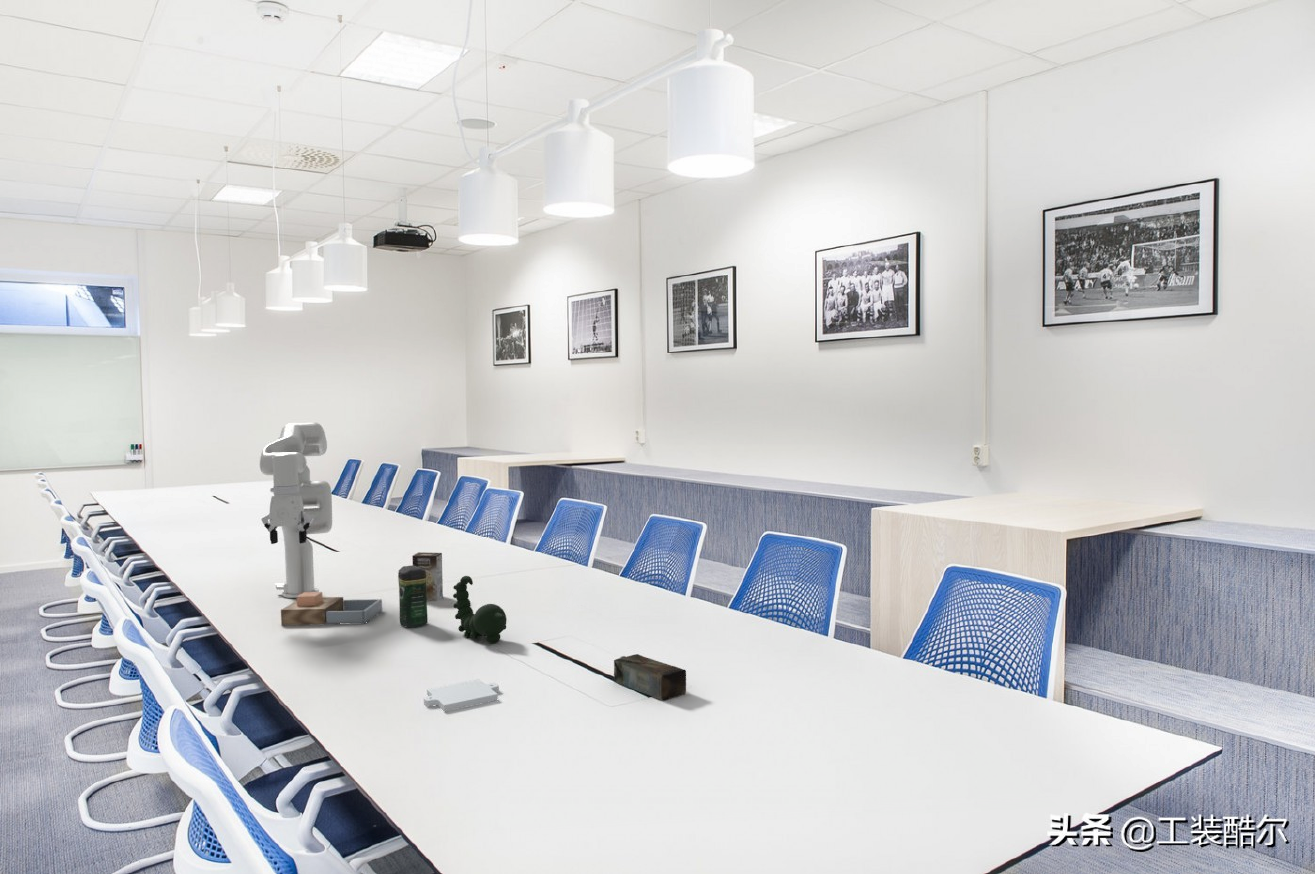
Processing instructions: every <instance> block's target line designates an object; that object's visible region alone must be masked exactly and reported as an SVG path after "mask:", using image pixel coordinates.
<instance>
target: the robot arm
mask: <svg viewBox="0 0 1315 874" xmlns="http://www.w3.org/2000/svg"><path fill="white" fill-rule="evenodd" d="M327 449H328V441H327V437H326V432H325V429H324V428H323V426H322V425H321V424H320V423H318V422H291V423H290V422H289V423H287V424H286V425H284V426H283V427H281V431H280V435H279V437H278V438H277V440H276V441H273V442H271V443H269V444H267V445H266V446H265V447H263V449H262V450H261V451H262V452H261V455H260V457H259V469H260V471H261V473H262V474H263V475H266V476H273V478H272V479H273V487H272V488H270V493H273V495H272V496H271V497H270V502H269V503H270V504H269V514H267V515H265V516H264V517H262V518H261V522H262V524H263V526H264V527H265V528H266V530H267V531H268V532H269V540H270V544H271V545H274V544H278V543H279V540H278V539H279V538H278V537H279V536H278V530H277V528H278V527H281V530H282V536H283V542H284V559H285V560H284V561H285V562H284V563H285V565H284V566H285V582H284V583H275V588H276V590H277V591H278V590H279V591H280V590H281V591H282V590H283V591H282V594H281V596H282V597H283V598H287V599H297V596H299V595H300V594H302V593H304V592H320V589H319V588H318V587H315V571H314V567H315V566H314V548H313V544H312V543H311V541H310V540H309V538H308V536H307V535H318V534H319V535H320V534H327V533H329V532H331V530H332V527H333V498H332V497H333V495H332V489H331V485H330V483H329V482H328V481H326V480H311V471H310V470H311V469H310V468H309V466H308V465H307V459H306V457H319V456H323V455H325V454H326V452H327ZM304 507H305V508H304ZM307 507H311V508H307ZM312 507H313V508H312Z"/></svg>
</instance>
